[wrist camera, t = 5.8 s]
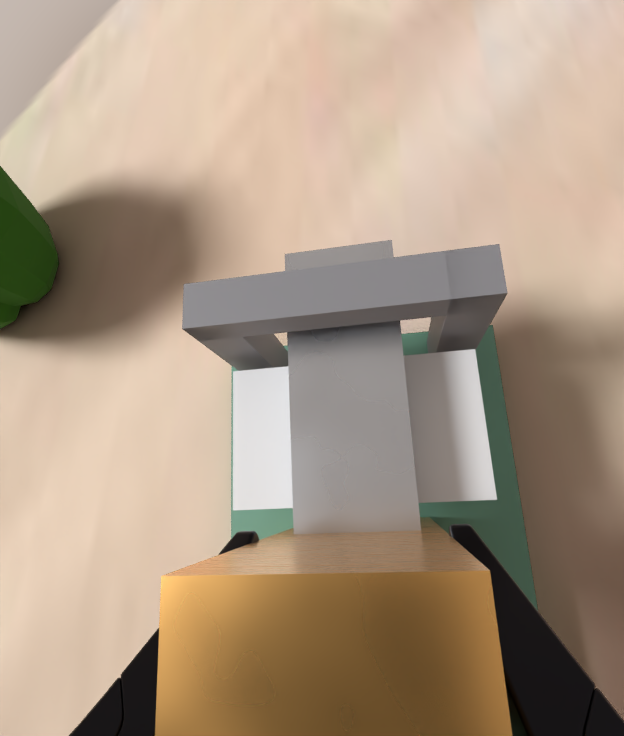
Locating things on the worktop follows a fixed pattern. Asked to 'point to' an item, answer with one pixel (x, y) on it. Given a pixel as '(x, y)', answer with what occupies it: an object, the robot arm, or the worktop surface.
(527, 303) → the worktop surface
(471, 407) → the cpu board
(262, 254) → the worktop surface
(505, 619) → the robot arm
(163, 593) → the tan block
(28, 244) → the bell pepper
